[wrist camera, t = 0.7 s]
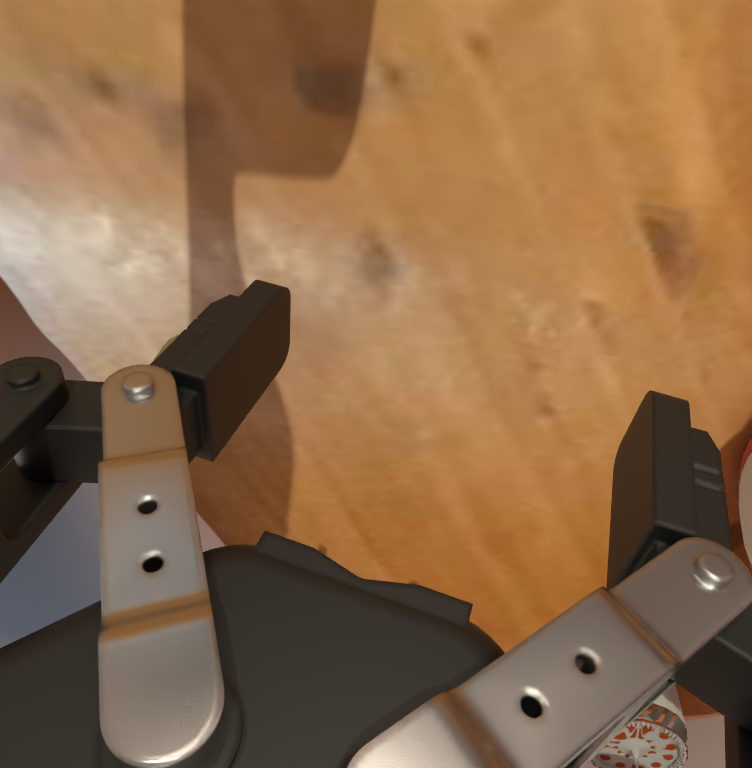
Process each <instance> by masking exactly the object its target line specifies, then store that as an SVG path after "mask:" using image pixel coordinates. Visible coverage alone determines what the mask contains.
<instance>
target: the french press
mask: <svg viewBox="0 0 752 768" xmlns="http://www.w3.org/2000/svg"><path fill="white" fill-rule="evenodd" d="M655 704H657V705H660V706H659V708H658V710H656V711H654V712H653V713H651V714H649V715H647V716H645V717H643V718H642V717H637V718H636V719H634V720H633V721H632V722H631V723H630V724H629V725H628V726H627V727H625V728H624V729H623V730H622V731H621V732H620V733H619V734H618V735H617V736H616V737H614V738H613V739H612V740H611V741H610V742H609V743H608V744H607V745H606V746H605V747H604V748H603V749H602V750H601V751H600V752H599V753H598V754H597V755H596V756H595V757H594V758H593V759H592V760H591V762H592V763H593V764H594V766H596V767H597V768H681V767H682V766H683V764H684V763H685V761H686V760H687V759H688V753H687V752H688V751H687V746H686V744H685V742H686V741H687V730H686V726H685V721H684V717H683V713H682V709H681V704H680V700H679V696H678V692H677V688H676V684H674V685H672V686H671V687H670V688H669V689H668V690H667V691H666V692H665V693H663V694H662V695H661V696H660V697H659V698H658V699H657V700H656V701H655V702H653V703H652V704H651V705H650V706H649V707H651V706H653V705H655ZM649 707H648V708H649ZM665 708H667V709H669V711H668V713H667V715H666V716H665V718H664V720H663V721H662V723H658V722H654V721H655V720H657V719H658V718H659V717H660V715H661V714H662V713H663V711H664V710H665ZM674 713H675V714H677V715H678V717H677V719H676V721H675V723H674V725H673V727H672V729H670V728H668V727H667V725H668V724H669V722H670V720H671V718H672V716H673V714H674Z"/></svg>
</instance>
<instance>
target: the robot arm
mask: <svg viewBox="0 0 752 768" xmlns="http://www.w3.org/2000/svg"><path fill="white" fill-rule="evenodd" d="M290 300H291V297H290V291H289V289H288V288H286V287H282V286H279V285H275V284H271V283H268V282H264V281H261V280H255V281H254V282H253V283H252V284H251V285H250V286H249V287H248V288H247V289H246V290H245V291H244V292H243V293H242V294H241V295H240V296H239V297H237V296H234V295H228V296H226V297H224V298H222V299H220V300H217V301H215V302H213V303H211V304H210V305H209V306H208V307H207V308H206V309H205V310H204V311H203V312H202V313H201V314H200V315H199V316H198V319H195V320H194V321H193V322H192V323H191V324H190V325H189V326H188V328H187V330H184V331H183V332H182V333H181V334H180V335H179V336H178V337H177V338H176V339H175V340H174V341H173V342H172V343H171V344H170V345H169V346H168V347H167V348H166V349H165V350H164V351H163V352H162V353H161V354H160V355H159V356H158V357H157V358H156V359H155V360H154V361H153V362H152V363H151V364H150V365H134V366H129V367H126V368H123V369H121V370H118V371H117V372H115V373H113V374H112V375H110V376H109V377H108V378H107V379H106V380H105V382H91V381H74V380H65V379H64V375H63V372H62V369H61V367H60V366H59V365H58V364H57V363H56V362H54V361H52V360H50V359H47V358H42V357H24V358H18V359H14V360H11V361H8V362H6V363H4V364H2V365H0V471H1V469H2V471H1V472H0V583H1V582H2V580H3V579H4V578H5V577H6V576H7V575H8V573H9V572H10V571H11V570H12V568H13V567H14V566H15V565H16V564H17V562H18V561H19V560H20V558H21V557H22V556H23V555H24V554H25V553H26V551H27V550H28V549H29V548H30V546H31V545H32V544H33V543H34V542H35V540H36V539H37V538H38V537H39V535H40V534H41V533H42V532H43V530H44V529H45V528H46V527H47V526H48V524H49V523H50V522H51V521H52V520H53V518H54V517H55V516H56V515H57V513H58V512H59V511H60V510H61V509H62V507H63V506H64V505H65V504H66V502H67V501H68V500H69V499H70V498H71V496H72V495H73V494H74V493H75V491H76V490H77V489H78V488H79V487H80V485H81V484H82V483H83V482H85V483H98V492H99V534H100V575H101V600H100V601H98V602H96V603H94V604H92V605H90V606H88V607H86V608H84V609H82V610H80V611H77V612H75V613H73V614H71V615H69V616H67V617H65V618H63V619H61V620H59V621H56V622H54V623H52V624H50V625H48V626H46V627H44V628H42V629H40V630H38V631H36V632H34V633H31V634H29V635H27V636H25V637H23V638H21V639H19V640H17V641H15V642H13V643H11V644H8V645H7V646H4V647H2V648H0V768H583V767H584V766H585V765H586V764H587V763H589V762H590V761H591V760H592V759H593V758H594V757H595V756H596V755H597V754H598V753H599V752H600V751H601V750H602V749H603V748H604V747H605V746H606V745H607V744H608V743H609V742H610V741H611V740H612V739H613V738H614V737H616V736H617V735H618V734H619V733H620V732H621V731H622V730H623V729H624V728H625V727H627V726H628V725H629V724H630V723H631V722H632V721H633V720H634V719H636V718H637V717H638V716H639V715H640V714H641V713H642V712H643V711H644V710H646V709H647V708H648V707H649V706H650V705H651V704H652V703H653V702H655V701H656V700H657V699H658V698H659V697H660V696H661V695H662V694H663V693H665V692H666V691H667V690H668V689H669V688H670V687H671V686H672V685H674V684H675V683H677V684H679V685H680V686H682V687H683V688H684V689H686V690H687V691H689V692H690V693H692V694H693V695H695V696H696V697H698V698H699V699H701V700H702V701H703V702H705V703H706V704H708V705H709V706H711V707H712V708H714V709H715V710H717V711H718V712H720V713H721V714H722V715H724V717H725V718H724V720H725V757H726V758H725V760H726V768H752V575H751V573H750V571H749V570H748V568H747V567H746V565H745V564H744V563H743V562H742V561H741V559H740V558H738V557H737V556H736V555H735V554H734V553H733V552H732V545H731V537H730V529H729V520H728V512H727V504H726V496H725V493H724V489H725V487H724V479H723V477H722V473H723V471H722V463H721V454H720V451H719V450H718V448H717V447H716V445H715V443H714V442H713V440H712V439H711V437H710V435H709V434H708V432H706V431H702V430H699V429H695V428H692V427H691V422H690V408H689V402H688V401H687V400H683V399H680V398H676V397H672V396H669V395H665V394H662V393H658V392H655V391H649V392H648V393H647V394H646V395H645V397H644V399H643V401H642V403H641V405H640V407H639V409H638V410H637V412H636V414H635V416H634V418H633V420H632V422H631V424H630V426H629V428H628V430H627V432H626V434H625V435H624V437H623V439H622V441H621V444H620V446H619V449H618V452H617V455H616V459H615V463H614V470H613V487H612V504H611V521H610V538H609V555H608V573H607V589H606V588H605V587H600V588H598V589H596V590H594V591H593V592H591V593H590V594H589V595H587V596H586V597H584V598H583V599H581V600H580V601H579V602H577V603H576V604H574V605H573V606H572V607H570V608H569V609H567V610H566V611H564V612H563V613H562V614H560V615H559V616H557V617H556V618H555V619H553V620H552V621H550V622H549V623H547V624H546V625H545V626H543V627H542V628H540V629H539V630H538V631H536V632H535V633H533V634H532V635H530V636H529V637H528V638H526V639H525V640H523V641H522V642H521V643H519V644H518V645H516V646H515V647H513V648H512V649H511V650H509V651H508V652H506V653H504V651H503V650H502V649H501V648H500V646H499V645H498V644H497V643H496V642H495V641H494V640H493V639H492V638H491V637H490V636H489V635H487V634H486V633H485V632H484V631H482V630H481V629H480V628H479V627H478V626H476V625H475V624H473V623H472V622H470V621H469V618H470V614H471V609H472V605H473V604H471V603H468V602H465V601H463V600H460V599H457V598H454V597H451V596H449V595H446V594H443V593H440V592H437V591H434V590H432V589H429V588H426V587H423V586H420V585H413V584H404V583H395V582H386V581H377V580H368V579H363V578H360V577H358V576H356V575H354V574H353V573H351V572H350V571H348V570H347V569H345V568H344V567H342V566H341V565H339V564H338V563H336V562H335V561H333V560H331V559H330V558H328V557H327V556H325V555H324V554H322V553H321V552H319V551H318V550H316V549H315V548H313V547H310V546H307V545H304V544H301V543H299V542H296V541H293V540H290V539H287V538H284V537H282V536H279V535H276V534H273V533H270V532H268V531H264V533H263V535H262V537H261V538H260V540H259V542H258V543H257V545H232V546H224V547H220V548H215V549H211V550H208V551H205V552H202V546H201V539H200V533H199V527H198V521H197V514H196V508H195V501H194V495H193V489H192V482H191V476H190V470H189V464H190V462H191V461H192V460H193V459H194V457H195V456H197V457H200V458H203V459H206V460H209V461H212V462H213V461H214V460H215V458H216V457H217V456H218V454H219V453H220V451H221V450H222V449H223V447H224V446H225V445H226V443H227V442H228V441H229V439H230V438H231V436H232V435H233V434H234V432H235V431H236V430H237V428H238V427H239V425H240V424H241V423H242V421H243V420H244V419H245V417H246V416H247V414H248V413H249V412H250V410H251V409H252V408H253V406H254V405H255V403H256V402H257V401H258V399H259V398H260V397H261V395H262V394H263V392H264V391H265V390H266V388H267V387H268V386H269V384H270V383H271V381H272V380H273V379H274V377H275V376H276V375H277V373H278V372H279V370H280V369H281V368H282V366H283V364H284V362H285V360H286V357H287V354H288V350H289V344H290ZM13 457H14V458H13ZM12 458H13V459H12ZM11 459H12V460H11ZM10 460H11V461H10ZM9 461H10V462H9ZM8 462H9V464H7V463H8ZM6 464H7V465H6ZM5 465H6V466H5Z"/></svg>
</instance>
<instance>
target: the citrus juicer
mask: <svg viewBox="0 0 752 768" xmlns="http://www.w3.org/2000/svg"><path fill="white" fill-rule="evenodd" d="M737 491H738V500H739V513H740V522H741V529H742V534H743V540H744V546H745V549H746V552H747V555H748V558H749V560H750V563H751V566H752V438H751V439H750V440H749V442H748V445H747V447H746V449H745V452H744V454H743V458H742V462H741V467H740V473H739V479H738V485H737Z"/></svg>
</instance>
